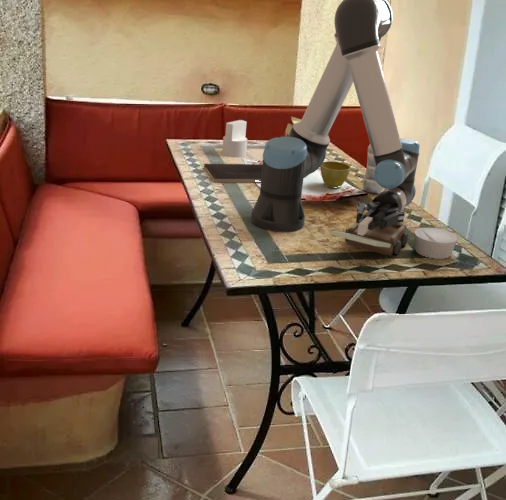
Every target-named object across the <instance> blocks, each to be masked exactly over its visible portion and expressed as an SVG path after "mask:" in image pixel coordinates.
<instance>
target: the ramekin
mask: <svg viewBox="0 0 506 500" xmlns="http://www.w3.org/2000/svg"><path fill="white" fill-rule="evenodd" d="M413 237H414V249H415V250H414V251H416V253H417V254H419V255H420V256H422V257H424V256H425V257H424V258H427V257H429V258H428V259H431V258H434V259H433V260H445V258H446V259H448V258H449V257H451V255H452V254H453V251H454V249H455V246H456V244H457V243H458V237H457V236H456V235H455V234H454V233H453V232H451V231H448V230H445V229H441V228H436V227H421V228H417V229H415V230H414V232H413Z"/></svg>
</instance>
